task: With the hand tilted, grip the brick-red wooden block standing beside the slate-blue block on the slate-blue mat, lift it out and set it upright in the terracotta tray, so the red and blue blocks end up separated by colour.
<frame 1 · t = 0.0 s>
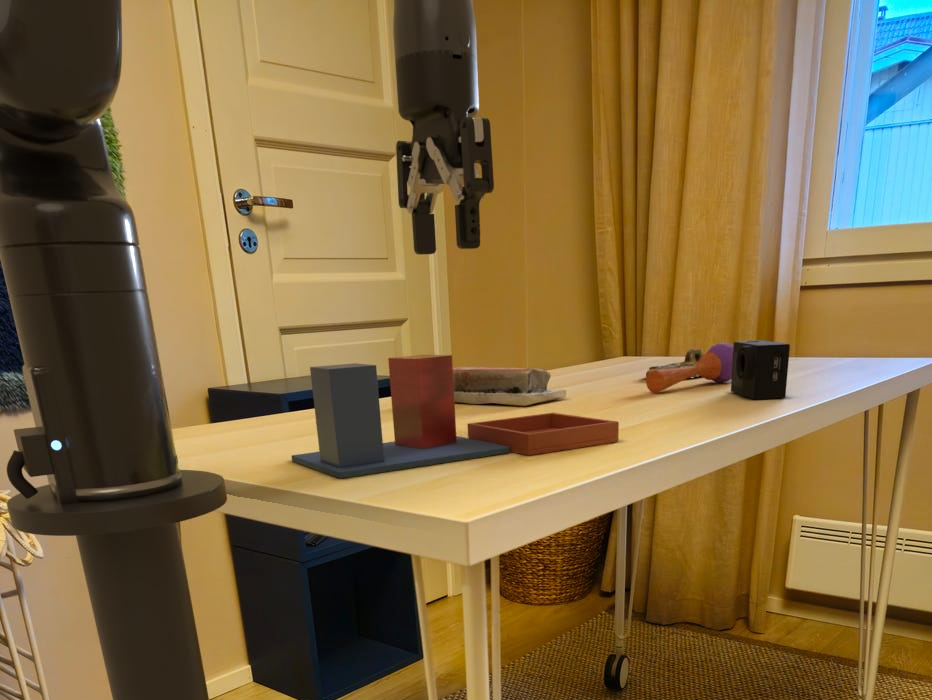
hand: (446, 251, 84), 19 cm above the table, tool pointing down, fingers open, 8 cm apart
red tray: (541, 442, 89), on the table
red block: (425, 443, 87), point 1 cm above the table, touching blue mat
seal: (677, 378, 149), on the table
blue mat: (400, 457, 84), on the table
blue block: (352, 461, 79), point 1 cm above the table, touching blue mat
weathered brick on slab: (497, 402, 126), on the table
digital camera: (752, 396, 119), on the table
orange and purple microphone: (694, 387, 133), on the table
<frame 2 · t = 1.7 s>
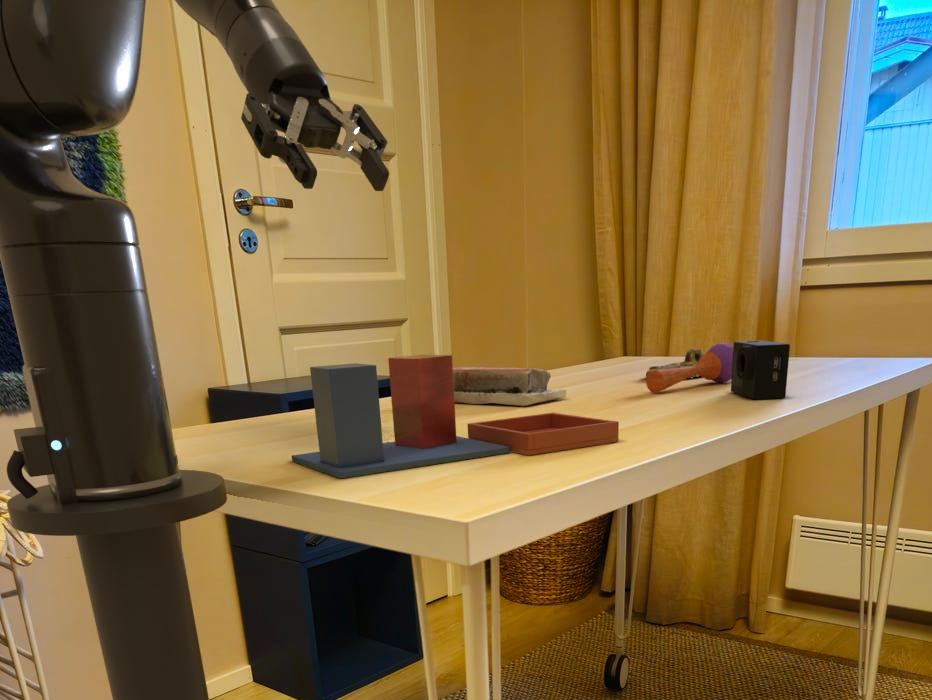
hand: (348, 182, 86), 26 cm above the table, tool tilted 45°, fingers open, 8 cm apart
nothing on the table moved.
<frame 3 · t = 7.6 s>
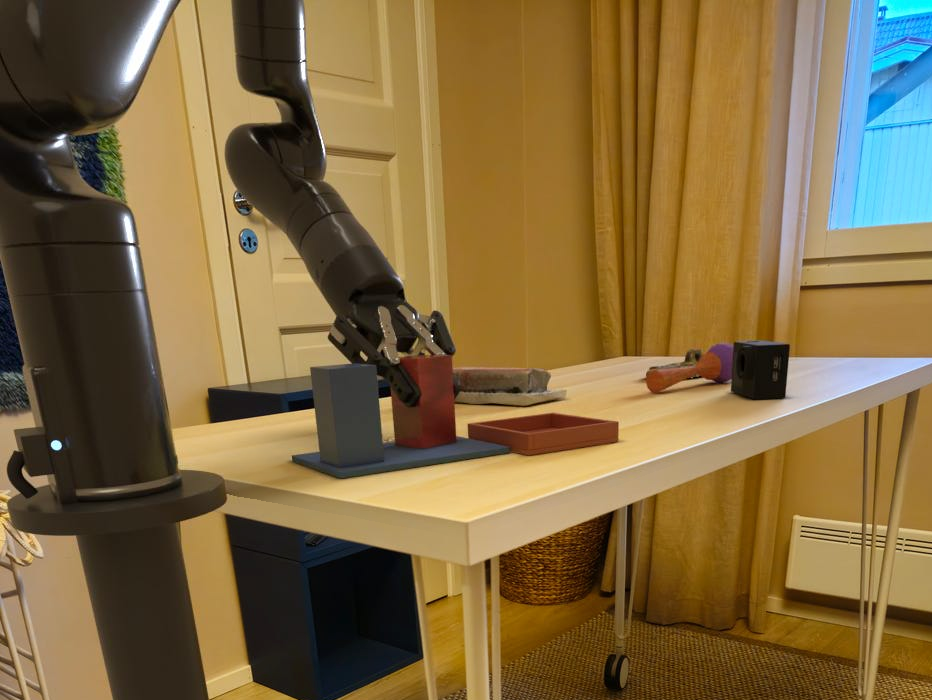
hand: (435, 398, 84), 5 cm above the table, tool tilted 45°, fingers closed on red block, 4 cm apart
red block: (425, 443, 87), point 1 cm above the table, touching blue mat, gripper
everything else where it was.
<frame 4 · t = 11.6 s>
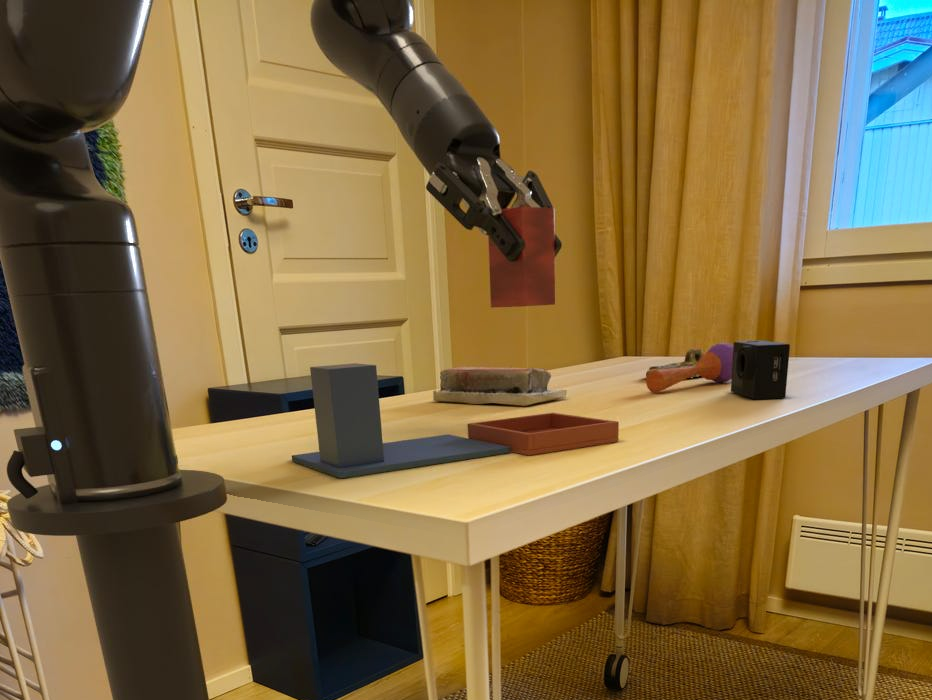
hand: (536, 253, 81), 18 cm above the table, tool tilted 45°, fingers closed on red block, 4 cm apart
red block: (523, 306, 84), point 13 cm above the table, touching gripper
everything else where it was.
when the fingers open (5 cm above the table, at t = 15.6 s): red block stays where it is, resting on red tray.
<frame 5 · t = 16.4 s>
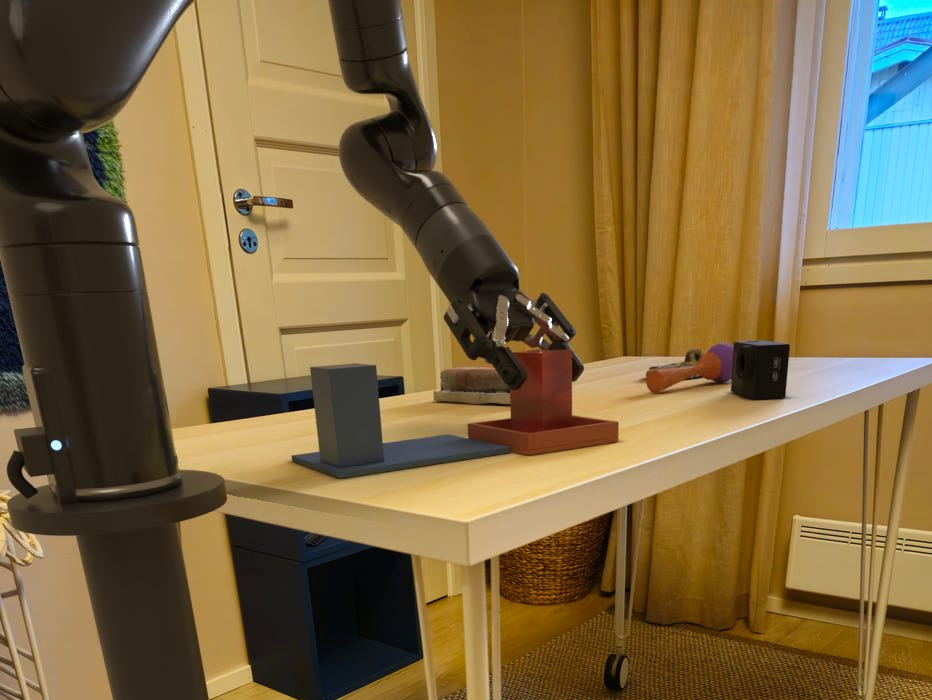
hand: (550, 380, 86), 6 cm above the table, tool tilted 45°, fingers open, 8 cm apart
red block: (541, 437, 89), resting on red tray
everything else where it was.
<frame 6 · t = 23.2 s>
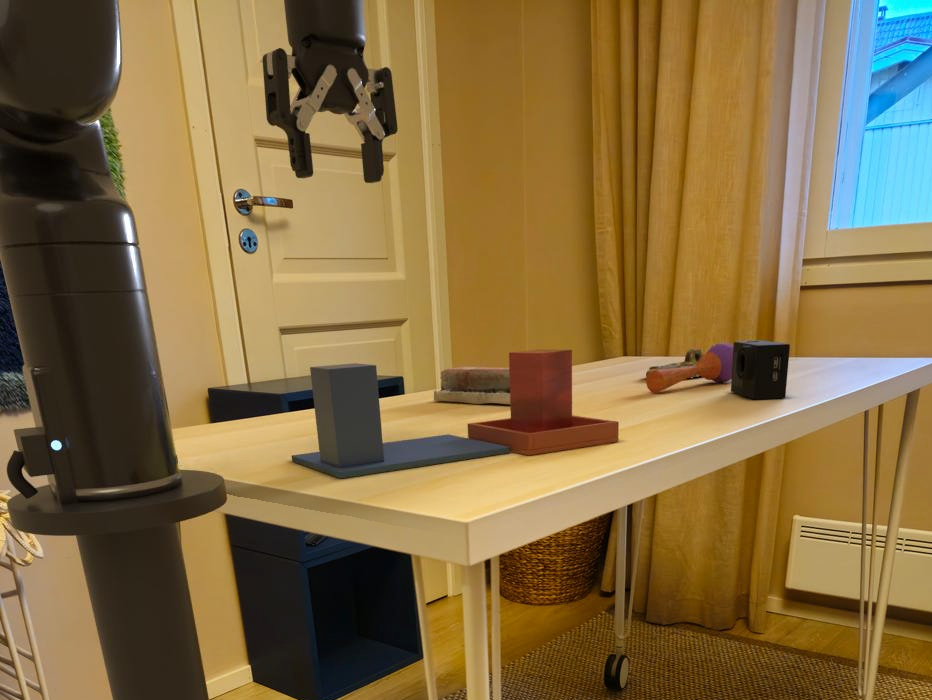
hand: (340, 179, 88), 26 cm above the table, tool pointing down, fingers open, 8 cm apart
nothing on the table moved.
at the end: red block inside the target area in the red tray (0.1 cm from its centre), point 0.5 cm above the red tray's base; red block tilted 0°; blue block moved 0.0 cm from its start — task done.
